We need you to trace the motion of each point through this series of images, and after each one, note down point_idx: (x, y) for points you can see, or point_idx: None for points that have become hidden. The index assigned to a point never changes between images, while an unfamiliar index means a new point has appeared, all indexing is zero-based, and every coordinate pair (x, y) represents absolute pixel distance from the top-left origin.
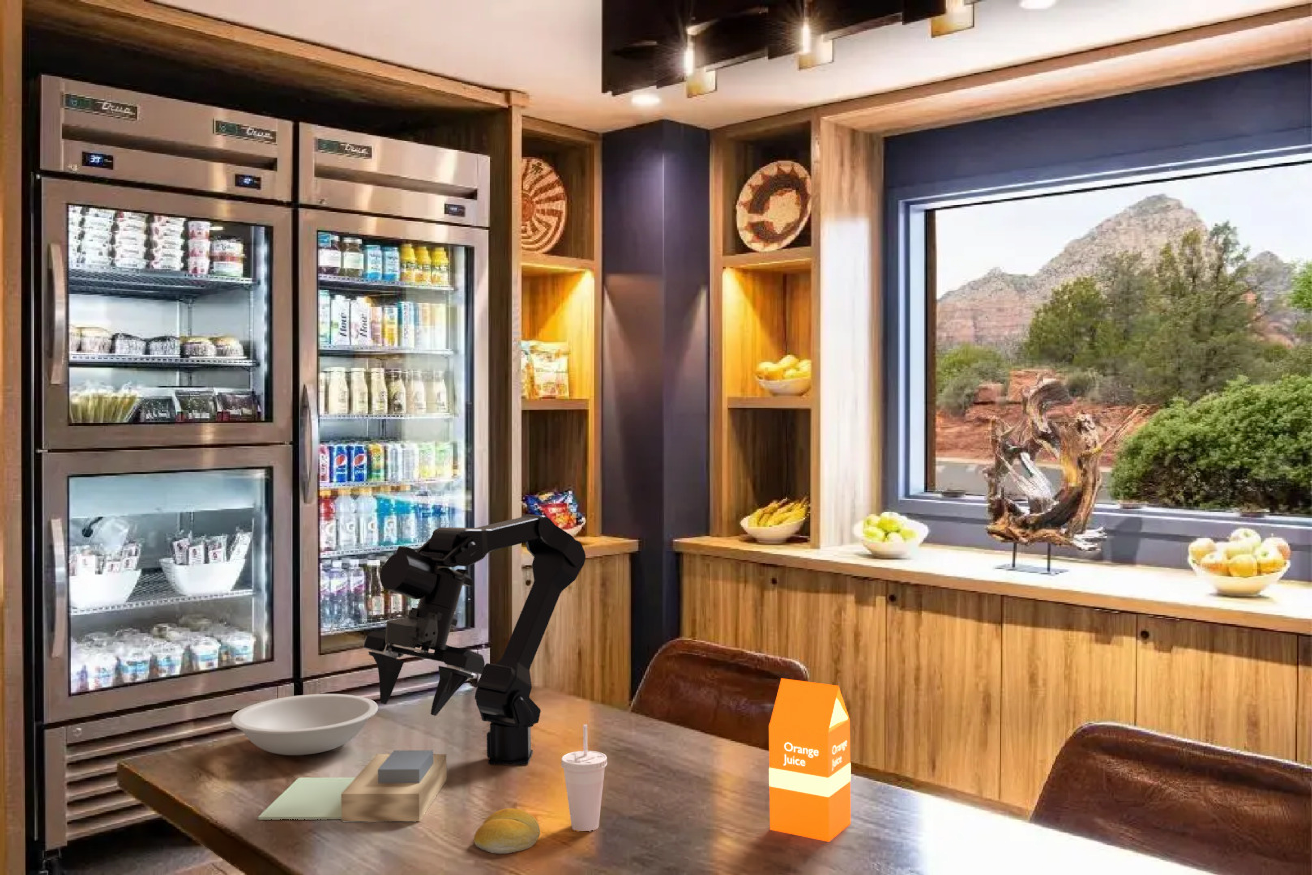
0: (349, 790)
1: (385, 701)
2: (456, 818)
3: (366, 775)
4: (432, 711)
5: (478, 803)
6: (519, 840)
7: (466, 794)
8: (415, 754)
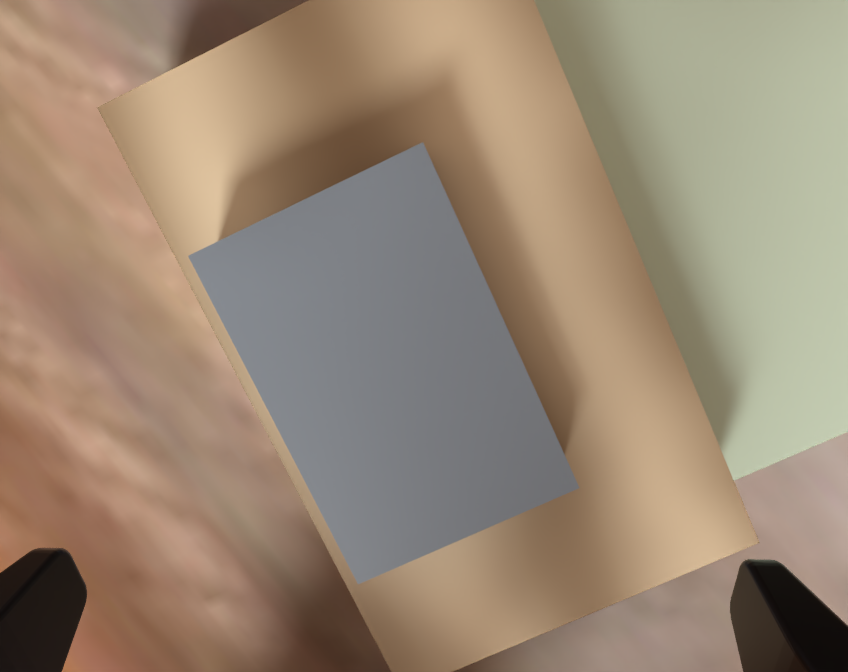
0: None
1: (740, 612)
2: (46, 239)
3: (573, 231)
4: (25, 566)
5: (84, 429)
6: None
7: (205, 498)
8: (404, 478)
